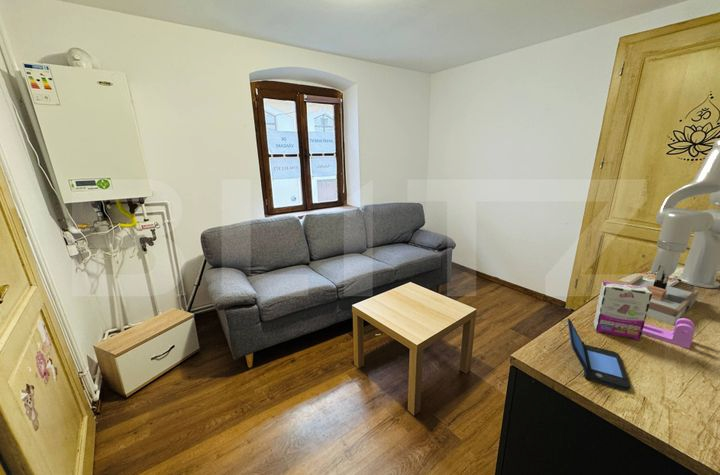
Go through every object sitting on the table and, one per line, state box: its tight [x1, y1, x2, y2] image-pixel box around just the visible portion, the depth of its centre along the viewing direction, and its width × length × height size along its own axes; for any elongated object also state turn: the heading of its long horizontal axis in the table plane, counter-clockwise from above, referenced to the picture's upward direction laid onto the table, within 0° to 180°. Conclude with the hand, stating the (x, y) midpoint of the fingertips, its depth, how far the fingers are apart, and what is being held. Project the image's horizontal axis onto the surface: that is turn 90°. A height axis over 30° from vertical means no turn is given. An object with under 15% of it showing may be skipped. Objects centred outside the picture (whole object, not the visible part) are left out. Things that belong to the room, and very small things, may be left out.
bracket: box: [642, 317, 695, 349], centre depth 92 cm, size 13×6×7 cm, turn 42°
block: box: [647, 285, 667, 301], centre depth 109 cm, size 5×5×3 cm
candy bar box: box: [593, 281, 652, 341], centre depth 92 cm, size 11×5×16 cm, turn 62°
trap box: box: [627, 275, 700, 326], centre depth 110 cm, size 28×17×6 cm, turn 122°
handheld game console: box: [567, 318, 631, 391], centre depth 80 cm, size 16×13×9 cm
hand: (658, 291), depth 112 cm, fingers closed
